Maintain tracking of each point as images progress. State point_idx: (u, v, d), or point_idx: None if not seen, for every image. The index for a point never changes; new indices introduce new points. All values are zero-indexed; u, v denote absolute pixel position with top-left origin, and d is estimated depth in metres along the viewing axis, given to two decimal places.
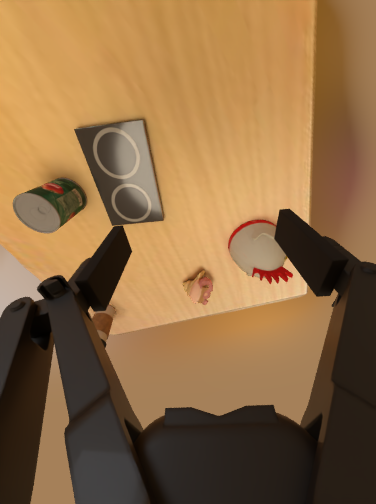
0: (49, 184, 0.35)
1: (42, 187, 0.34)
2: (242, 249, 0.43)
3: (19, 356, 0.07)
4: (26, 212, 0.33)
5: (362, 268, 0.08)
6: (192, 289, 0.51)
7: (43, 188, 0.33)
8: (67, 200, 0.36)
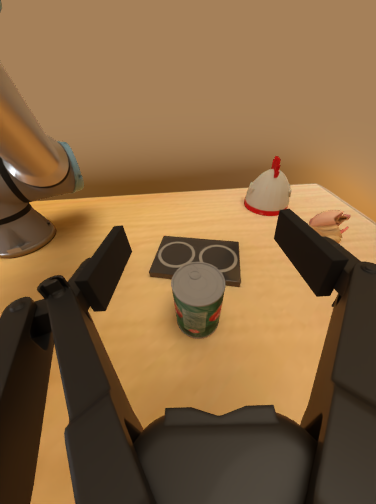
0: None
1: None
2: (262, 193, 0.55)
3: (19, 356, 0.07)
4: (192, 292, 0.25)
5: (362, 268, 0.08)
6: (322, 219, 0.44)
7: None
8: None
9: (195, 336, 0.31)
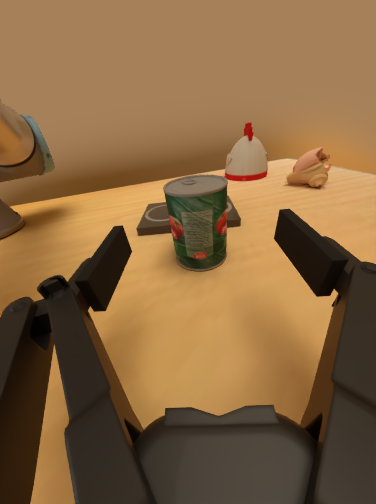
0: None
1: None
2: (241, 157, 0.55)
3: (19, 356, 0.07)
4: (190, 190, 0.21)
5: (362, 268, 0.08)
6: (305, 159, 0.44)
7: None
8: None
9: (202, 267, 0.25)
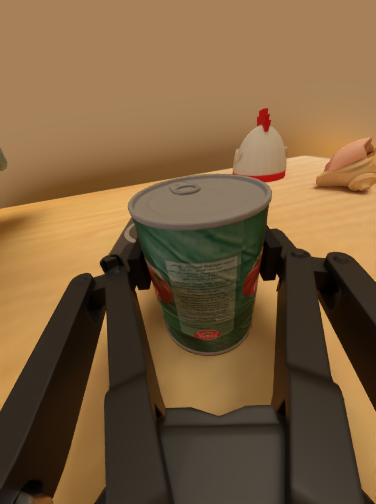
0: None
1: None
2: (254, 153, 0.44)
3: (75, 327, 0.08)
4: (187, 210, 0.09)
5: (292, 254, 0.10)
6: (347, 154, 0.32)
7: None
8: None
9: (212, 350, 0.13)
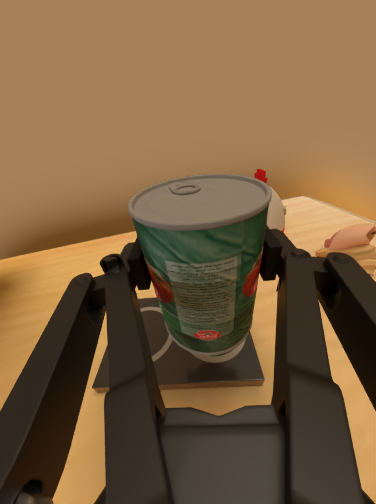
0: None
1: None
2: None
3: (75, 327, 0.08)
4: (187, 210, 0.09)
5: (292, 255, 0.10)
6: (348, 239, 0.30)
7: None
8: None
9: (212, 350, 0.13)
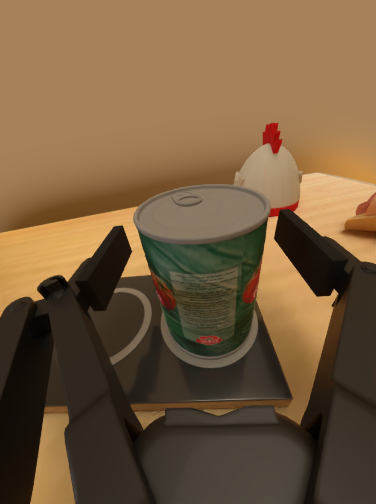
0: None
1: None
2: (259, 180, 0.34)
3: (19, 356, 0.07)
4: (190, 222, 0.09)
5: (362, 268, 0.08)
6: None
7: None
8: None
9: (213, 354, 0.13)
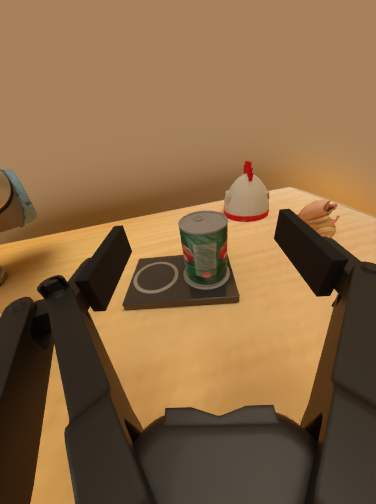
0: None
1: None
2: (240, 198, 0.52)
3: (19, 356, 0.07)
4: (199, 228, 0.27)
5: (362, 269, 0.08)
6: (310, 211, 0.40)
7: None
8: None
9: (208, 283, 0.31)
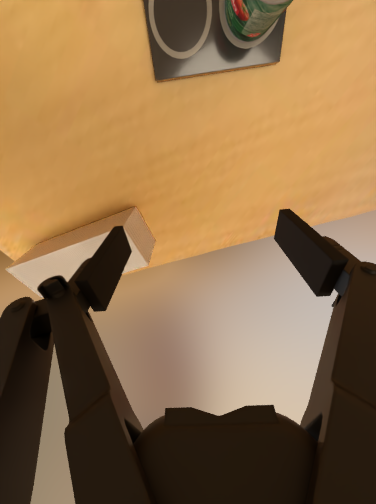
0: None
1: None
2: None
3: (19, 356, 0.07)
4: None
5: (362, 268, 0.08)
6: None
7: None
8: None
9: (251, 40, 0.27)
